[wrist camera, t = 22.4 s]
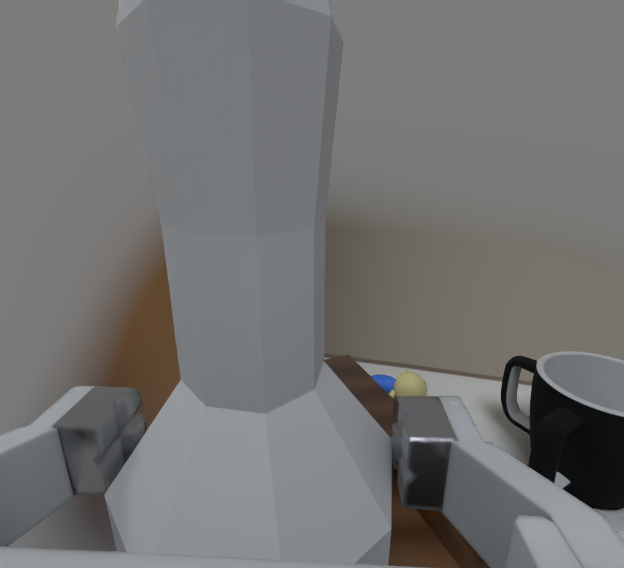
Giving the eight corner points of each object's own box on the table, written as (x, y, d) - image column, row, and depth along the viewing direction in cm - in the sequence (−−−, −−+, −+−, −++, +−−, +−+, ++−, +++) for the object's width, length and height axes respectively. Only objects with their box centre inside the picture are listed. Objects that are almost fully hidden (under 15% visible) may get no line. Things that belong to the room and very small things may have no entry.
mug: (641, 444, 45) (670, 355, 42) (723, 575, 31) (779, 458, 27) (492, 414, 51) (506, 333, 47) (504, 513, 37) (526, 409, 33)
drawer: (587, 715, 23) (615, 641, 21) (417, 851, 18) (430, 774, 16) (400, 478, 40) (405, 424, 38) (288, 518, 35) (286, 460, 33)
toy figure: (341, 382, 59) (345, 353, 58) (390, 382, 61) (394, 354, 61) (373, 414, 48) (379, 378, 48) (430, 412, 51) (436, 379, 51)
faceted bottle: (309, 1035, 8) (282, -973, 1) (127, 796, 11) (-160, -191, 4) (401, 696, 13) (491, -80, 7) (259, 596, 16) (220, -2, 10)
